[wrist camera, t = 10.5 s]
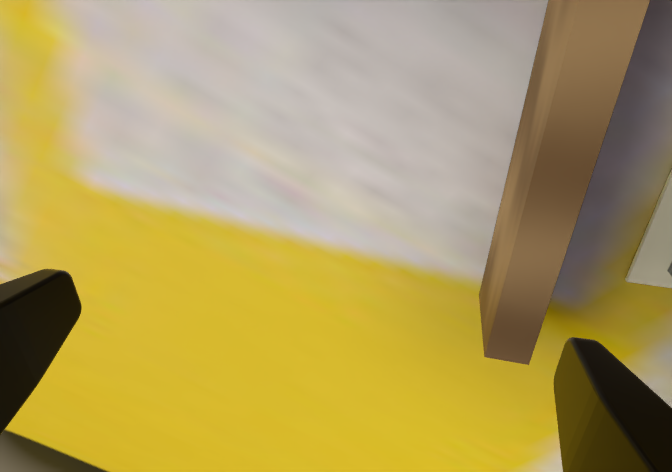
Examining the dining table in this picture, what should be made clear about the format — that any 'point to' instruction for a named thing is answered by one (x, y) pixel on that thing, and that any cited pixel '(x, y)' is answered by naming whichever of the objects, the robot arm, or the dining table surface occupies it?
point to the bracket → (670, 269)
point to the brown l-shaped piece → (553, 163)
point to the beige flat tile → (655, 245)
